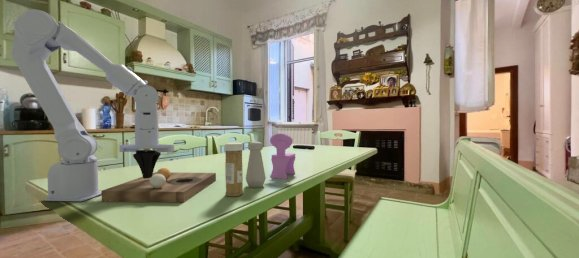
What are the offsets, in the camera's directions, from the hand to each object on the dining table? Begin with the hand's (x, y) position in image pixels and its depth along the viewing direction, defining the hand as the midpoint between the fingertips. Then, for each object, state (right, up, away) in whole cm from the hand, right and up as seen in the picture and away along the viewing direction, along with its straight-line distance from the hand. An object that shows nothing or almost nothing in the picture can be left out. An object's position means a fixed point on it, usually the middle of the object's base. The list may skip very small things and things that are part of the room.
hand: (147, 177), depth 71 cm
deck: (+6, -3, 0) cm, 6 cm away
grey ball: (+7, +1, -8) cm, 11 cm away
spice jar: (+25, -4, -5) cm, 26 cm away
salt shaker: (+30, -3, +4) cm, 30 cm away
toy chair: (+37, -3, +18) cm, 42 cm away
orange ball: (+5, +1, 0) cm, 5 cm away
